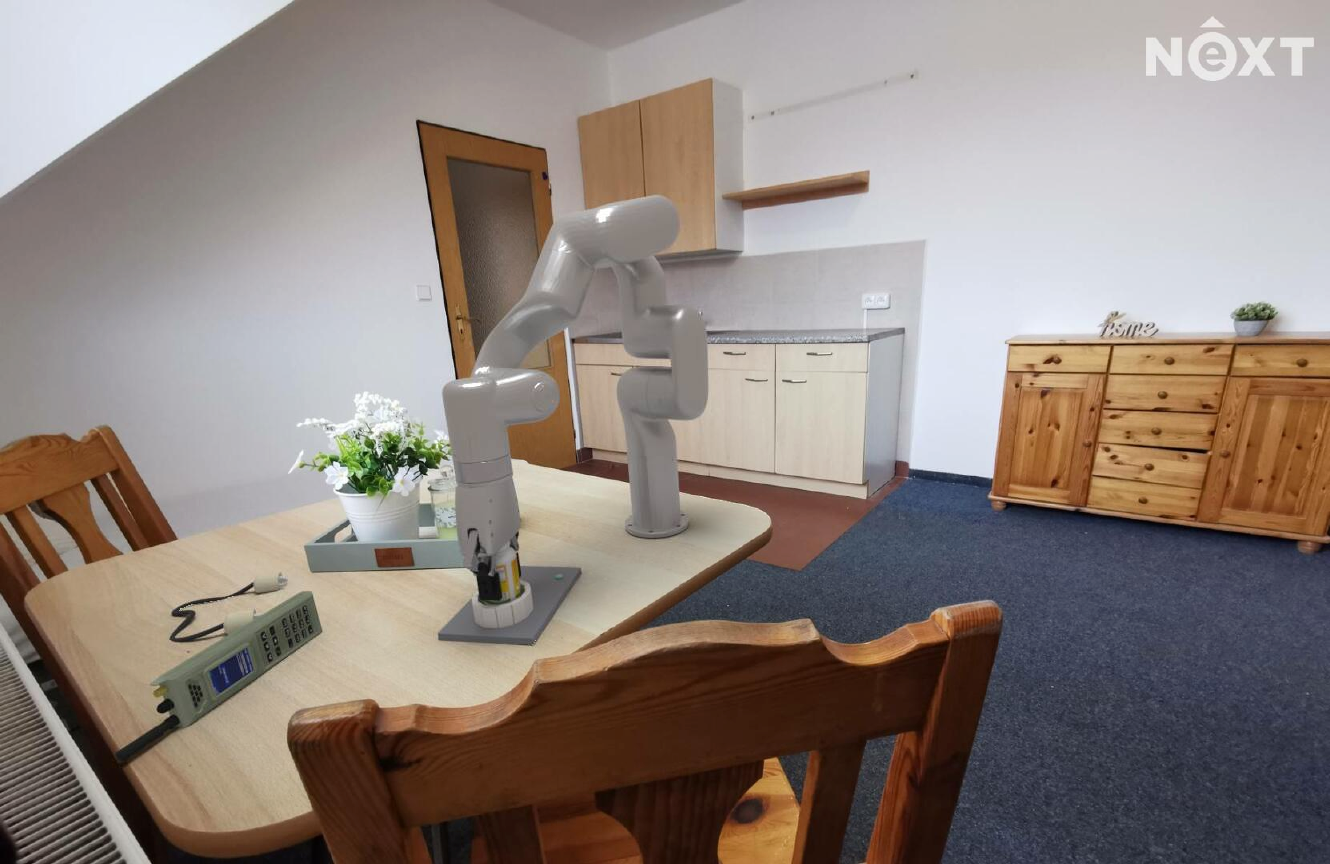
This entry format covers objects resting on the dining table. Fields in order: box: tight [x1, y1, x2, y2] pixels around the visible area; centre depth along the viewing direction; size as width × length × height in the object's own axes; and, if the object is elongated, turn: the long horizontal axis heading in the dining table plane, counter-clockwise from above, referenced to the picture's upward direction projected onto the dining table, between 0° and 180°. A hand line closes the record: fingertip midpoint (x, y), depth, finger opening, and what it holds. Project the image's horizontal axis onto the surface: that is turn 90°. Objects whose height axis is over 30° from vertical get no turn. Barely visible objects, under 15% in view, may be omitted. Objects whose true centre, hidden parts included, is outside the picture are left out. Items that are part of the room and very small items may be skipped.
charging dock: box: [437, 565, 582, 645], centre depth 86 cm, size 20×14×4 cm
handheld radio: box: [115, 590, 323, 763], centre depth 70 cm, size 7×3×25 cm
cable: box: [168, 571, 289, 643], centre depth 88 cm, size 16×16×4 cm
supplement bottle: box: [480, 540, 521, 606], centre depth 81 cm, size 5×5×10 cm
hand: (501, 586), depth 81 cm, fingers closed on supplement bottle, 5 cm apart
